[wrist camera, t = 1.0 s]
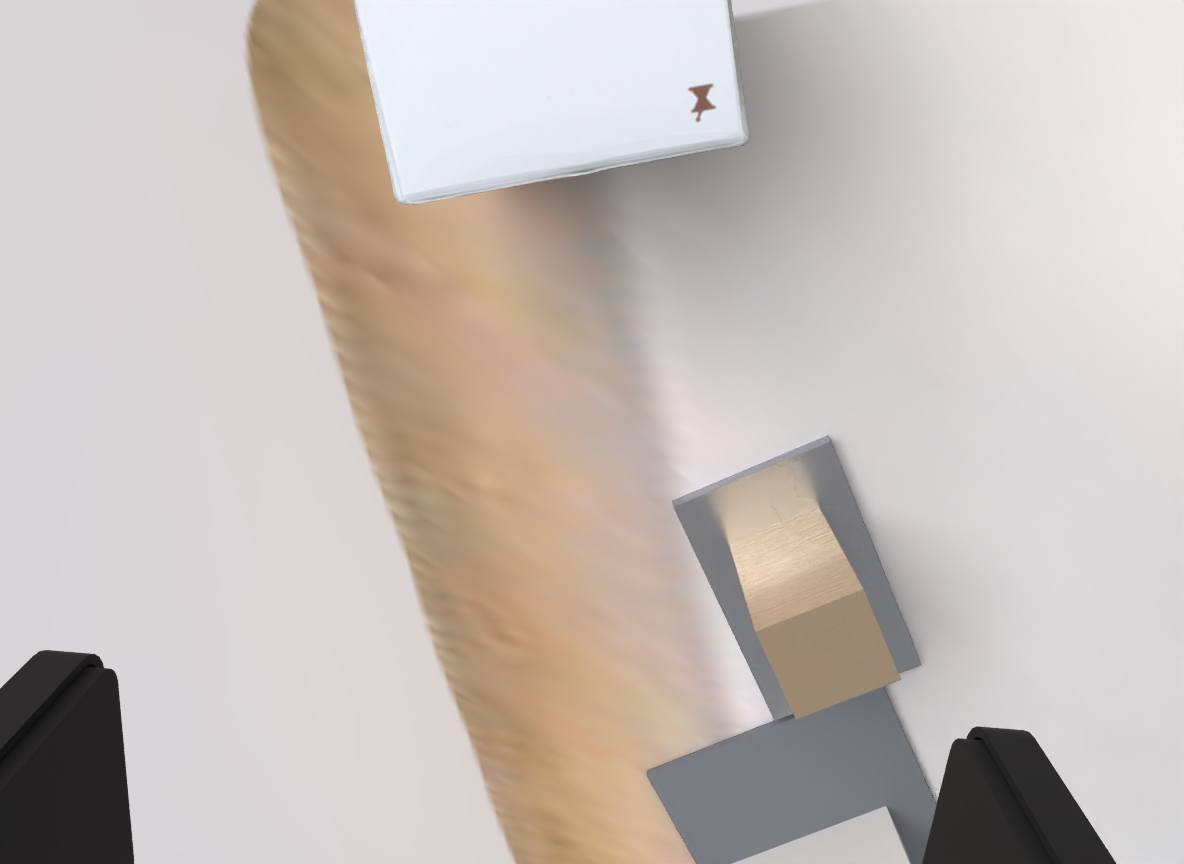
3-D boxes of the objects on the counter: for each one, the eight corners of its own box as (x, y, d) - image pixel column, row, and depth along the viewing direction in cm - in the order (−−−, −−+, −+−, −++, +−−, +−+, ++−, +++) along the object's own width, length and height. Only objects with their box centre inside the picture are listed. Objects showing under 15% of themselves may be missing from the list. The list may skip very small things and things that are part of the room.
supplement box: (663, -131, 29) (713, -282, 17) (695, 128, 31) (758, 155, 19) (418, -86, 29) (300, -202, 17) (468, 167, 32) (395, 216, 20)
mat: (880, 679, 38) (882, 683, 38) (977, 896, 42) (979, 902, 42) (646, 771, 40) (647, 776, 39) (759, 973, 43) (760, 979, 43)
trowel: (915, 653, 38) (980, 768, 32) (771, 708, 39) (806, 831, 33) (825, 433, 35) (878, 510, 29) (671, 498, 36) (689, 587, 30)
